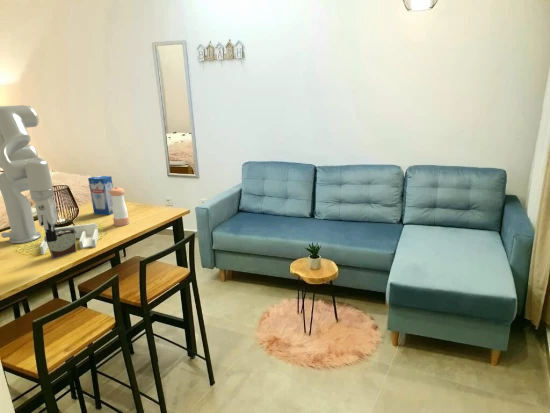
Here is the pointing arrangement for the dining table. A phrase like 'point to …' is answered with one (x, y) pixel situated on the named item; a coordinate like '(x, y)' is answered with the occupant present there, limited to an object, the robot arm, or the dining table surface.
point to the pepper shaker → (119, 207)
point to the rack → (80, 236)
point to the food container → (62, 243)
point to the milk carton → (101, 194)
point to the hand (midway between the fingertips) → (52, 240)
